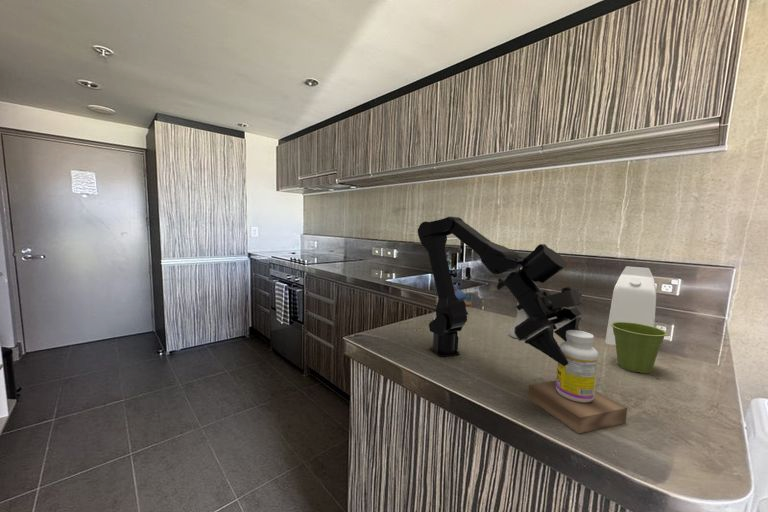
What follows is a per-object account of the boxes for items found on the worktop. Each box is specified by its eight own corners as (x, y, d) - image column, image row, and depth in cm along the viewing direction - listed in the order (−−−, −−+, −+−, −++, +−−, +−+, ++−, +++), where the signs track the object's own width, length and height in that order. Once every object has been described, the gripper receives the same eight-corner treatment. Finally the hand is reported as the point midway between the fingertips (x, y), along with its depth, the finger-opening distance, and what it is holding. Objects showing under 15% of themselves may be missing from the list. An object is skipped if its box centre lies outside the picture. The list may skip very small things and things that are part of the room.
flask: (521, 341, 101) (524, 312, 100) (504, 334, 108) (506, 306, 107) (536, 338, 105) (538, 310, 104) (518, 332, 111) (520, 305, 110)
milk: (653, 344, 103) (662, 268, 101) (652, 353, 95) (661, 270, 93) (609, 335, 112) (616, 264, 109) (604, 342, 103) (612, 266, 101)
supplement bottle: (559, 383, 67) (565, 326, 66) (596, 395, 62) (602, 333, 61) (551, 394, 62) (557, 332, 61) (590, 408, 57) (597, 341, 56)
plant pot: (611, 355, 92) (615, 319, 91) (664, 369, 84) (669, 329, 83) (602, 366, 84) (606, 326, 83) (660, 383, 75) (665, 338, 74)
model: (445, 303, 153) (446, 285, 152) (457, 301, 158) (458, 283, 158) (464, 308, 143) (466, 289, 142) (477, 306, 149) (478, 287, 148)
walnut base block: (578, 433, 55) (580, 417, 54) (527, 398, 66) (528, 384, 66) (625, 422, 58) (627, 407, 58) (569, 390, 70) (570, 378, 70)
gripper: (533, 276, 59) (593, 351, 51) (575, 271, 70) (629, 332, 62) (494, 307, 66) (541, 377, 58) (538, 298, 77) (582, 356, 69)
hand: (576, 359), depth 62 cm, fingers open, 9 cm apart
